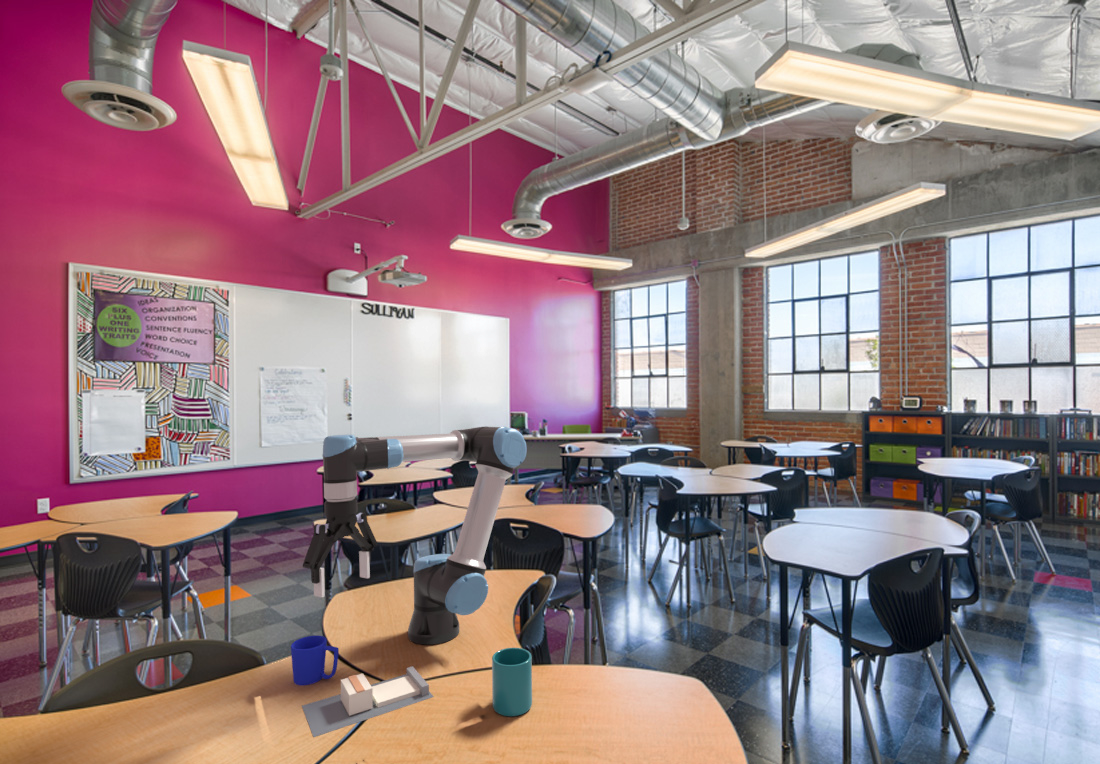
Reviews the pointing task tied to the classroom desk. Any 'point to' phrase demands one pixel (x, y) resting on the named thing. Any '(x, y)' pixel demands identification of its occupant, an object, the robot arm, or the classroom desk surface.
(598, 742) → the classroom desk surface
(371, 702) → the white box
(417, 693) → the clipboard
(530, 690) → the cup
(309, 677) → the mug
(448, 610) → the robot arm
